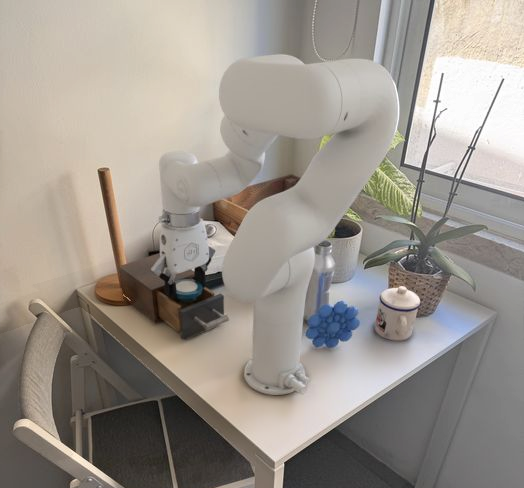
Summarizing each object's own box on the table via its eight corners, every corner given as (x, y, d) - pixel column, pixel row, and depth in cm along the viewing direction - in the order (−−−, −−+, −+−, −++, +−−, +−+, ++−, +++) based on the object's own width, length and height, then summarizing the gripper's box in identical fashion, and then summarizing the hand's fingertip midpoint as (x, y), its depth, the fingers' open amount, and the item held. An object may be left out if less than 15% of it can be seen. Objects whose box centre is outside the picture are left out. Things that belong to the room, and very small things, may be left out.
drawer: (238, 331, 117) (238, 304, 112) (197, 350, 110) (196, 322, 106) (190, 299, 127) (188, 273, 123) (150, 314, 121) (147, 287, 117)
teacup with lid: (370, 319, 124) (379, 277, 117) (408, 321, 124) (418, 278, 117) (378, 348, 115) (387, 304, 108) (418, 350, 115) (430, 306, 108)
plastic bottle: (328, 313, 126) (338, 238, 114) (328, 329, 120) (338, 251, 108) (302, 311, 126) (309, 236, 114) (301, 326, 121) (308, 249, 109)
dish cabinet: (198, 305, 127) (197, 273, 121) (155, 323, 120) (151, 289, 114) (165, 283, 135) (162, 251, 130) (123, 298, 128) (118, 266, 123)
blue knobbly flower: (351, 336, 118) (359, 291, 111) (357, 353, 113) (365, 307, 106) (301, 336, 118) (306, 291, 110) (305, 354, 112) (310, 307, 105)
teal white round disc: (209, 297, 116) (208, 287, 115) (183, 308, 112) (182, 297, 111) (190, 285, 120) (189, 275, 119) (164, 295, 116) (163, 285, 115)
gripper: (155, 232, 98) (163, 311, 109) (226, 212, 108) (226, 285, 118) (135, 220, 102) (143, 296, 113) (204, 201, 112) (206, 273, 123)
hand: (186, 290), depth 116 cm, fingers closed on teal white round disc, 7 cm apart
